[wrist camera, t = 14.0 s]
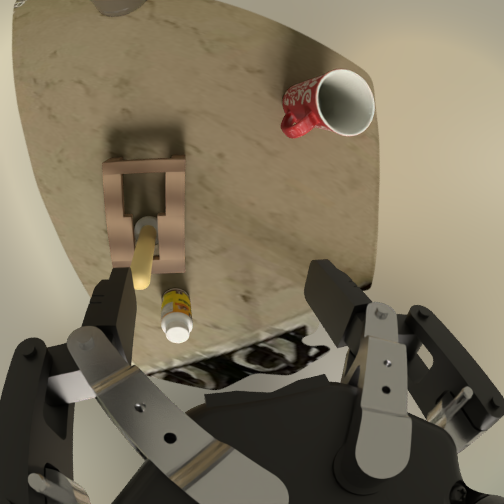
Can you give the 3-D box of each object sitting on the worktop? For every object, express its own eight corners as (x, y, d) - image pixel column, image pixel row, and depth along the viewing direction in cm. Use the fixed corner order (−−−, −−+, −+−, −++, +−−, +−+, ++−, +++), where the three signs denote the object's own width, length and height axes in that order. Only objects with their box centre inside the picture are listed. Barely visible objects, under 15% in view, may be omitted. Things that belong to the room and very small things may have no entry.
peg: (133, 216, 41) (116, 262, 28) (162, 215, 43) (157, 261, 30) (136, 243, 44) (122, 297, 31) (164, 242, 45) (160, 296, 32)
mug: (309, 69, 36) (355, 58, 25) (334, 113, 41) (384, 117, 30) (248, 105, 38) (277, 101, 26) (278, 150, 42) (316, 164, 31)
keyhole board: (110, 158, 36) (102, 163, 32) (185, 154, 39) (185, 159, 35) (119, 259, 44) (114, 274, 40) (184, 257, 47) (185, 272, 43)
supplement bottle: (195, 301, 52) (200, 338, 44) (172, 313, 52) (174, 350, 44) (179, 281, 49) (181, 318, 41) (156, 295, 49) (154, 332, 41)
